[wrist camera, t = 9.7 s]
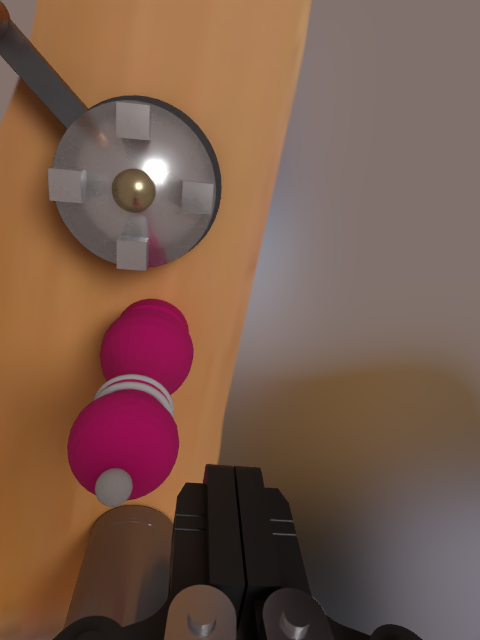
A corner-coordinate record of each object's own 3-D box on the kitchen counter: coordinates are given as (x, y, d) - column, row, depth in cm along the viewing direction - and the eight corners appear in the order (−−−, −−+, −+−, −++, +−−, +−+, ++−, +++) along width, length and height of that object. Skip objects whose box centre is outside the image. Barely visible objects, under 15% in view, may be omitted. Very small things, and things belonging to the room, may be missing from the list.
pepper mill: (112, 289, 38) (25, 433, 19) (197, 296, 38) (193, 440, 20) (111, 364, 40) (34, 555, 22) (191, 369, 41) (182, 557, 23)
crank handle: (244, 196, 33) (252, 206, 28) (138, 286, 35) (127, 313, 30) (39, -64, 27) (-2, -116, 21) (-78, 66, 29) (-143, 49, 23)
